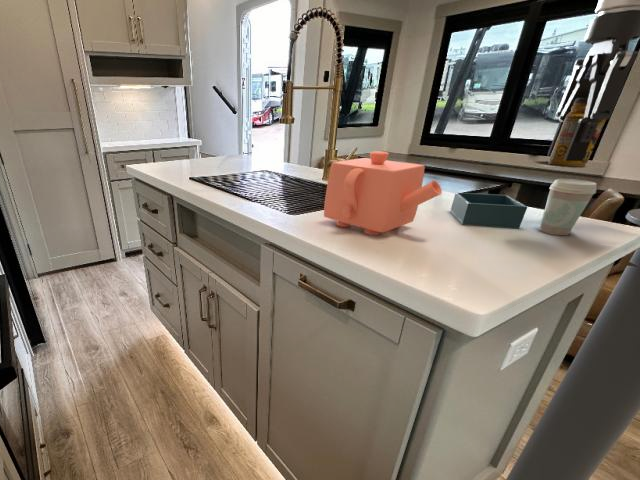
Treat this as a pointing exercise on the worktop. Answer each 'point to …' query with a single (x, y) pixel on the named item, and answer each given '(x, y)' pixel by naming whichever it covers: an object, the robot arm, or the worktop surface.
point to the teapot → (376, 192)
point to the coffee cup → (566, 205)
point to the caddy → (488, 210)
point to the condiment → (566, 138)
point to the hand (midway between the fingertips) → (563, 158)
